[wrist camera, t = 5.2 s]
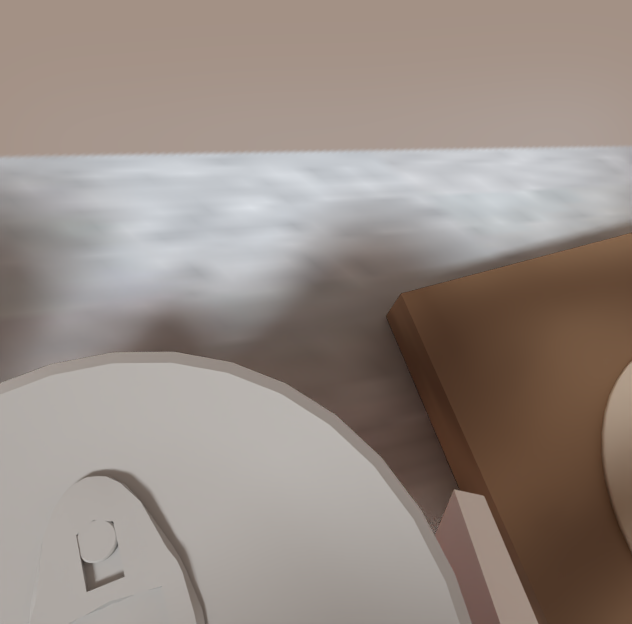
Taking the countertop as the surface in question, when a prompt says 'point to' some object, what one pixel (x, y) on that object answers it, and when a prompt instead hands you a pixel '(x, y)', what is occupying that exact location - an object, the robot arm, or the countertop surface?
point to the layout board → (539, 415)
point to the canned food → (202, 504)
